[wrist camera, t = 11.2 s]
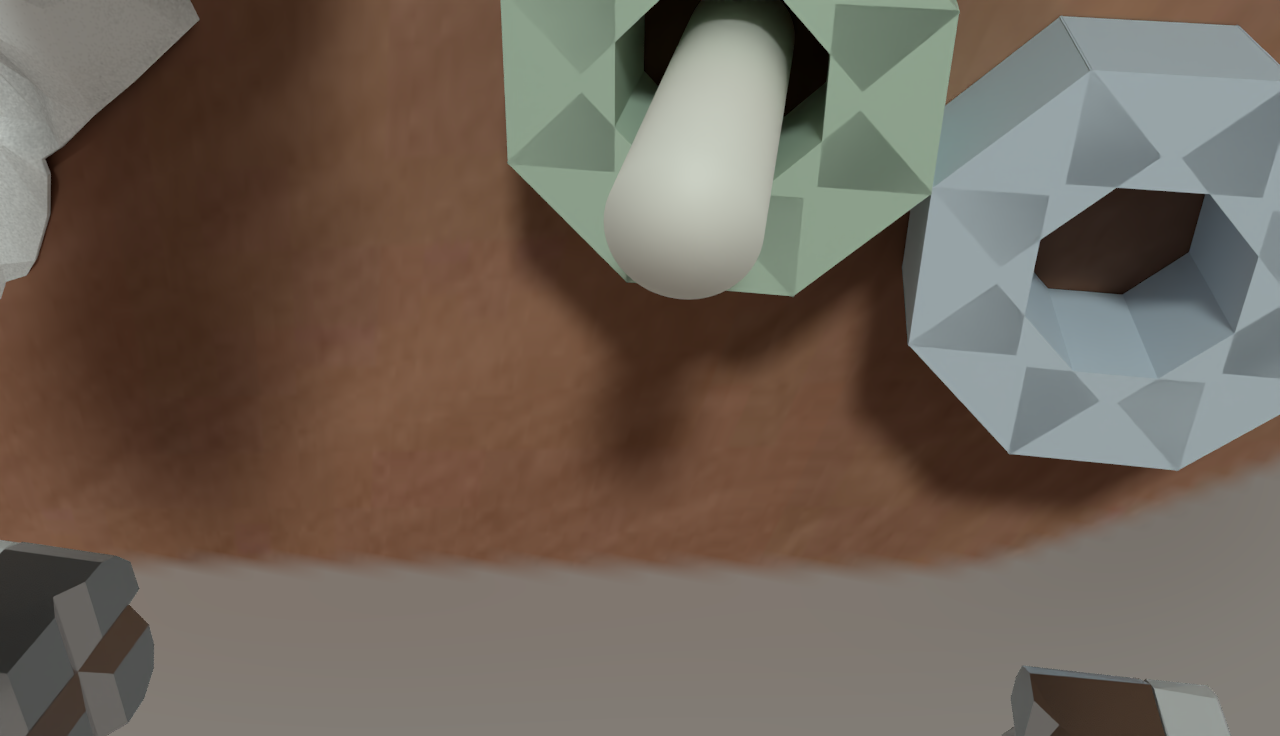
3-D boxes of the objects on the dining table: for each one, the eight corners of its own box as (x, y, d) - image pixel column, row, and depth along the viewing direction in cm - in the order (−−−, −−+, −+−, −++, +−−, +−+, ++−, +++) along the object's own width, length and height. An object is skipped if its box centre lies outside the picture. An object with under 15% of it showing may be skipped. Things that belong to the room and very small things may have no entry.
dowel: (799, -14, 30) (770, 156, 20) (790, 95, 31) (759, 305, 21) (688, -20, 30) (603, 144, 20) (685, 88, 32) (603, 292, 21)
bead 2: (1368, 31, 28) (1448, 90, 24) (1249, 389, 33) (1300, 483, 30) (938, 9, 29) (950, 60, 26) (888, 356, 35) (892, 442, 31)
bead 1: (964, -167, 27) (983, -138, 24) (907, 231, 33) (915, 307, 29) (541, -182, 29) (492, -157, 25) (551, 204, 34) (512, 273, 30)
